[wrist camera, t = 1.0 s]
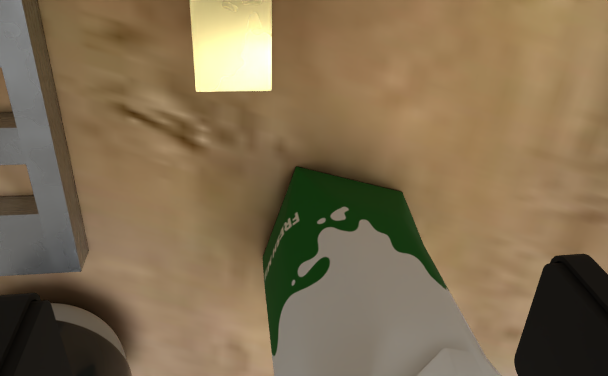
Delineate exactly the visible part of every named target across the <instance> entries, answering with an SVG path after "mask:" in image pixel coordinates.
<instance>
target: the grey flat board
mask: <svg viewBox="0 0 608 376" xmlns="http://www.w3.org/2000/svg"><path fill="white" fill-rule="evenodd" d="M0 67H2V71H3V75H4V79H5V83H6V87H7V90H8V94H9V98H10V102H11V106H12V110H13V113H0V165H16V164H26V165H27V169H28V173H29V177H30V181H31V185H32V189H33V193H34V196H10V197H0V276H8V275H26V274H44V273H62V272H81V271H82V268H83V265H84V262H85V260H86V257H87V254H88V251H89V250H88V245H87V240H86V235H85V230H84V226H83V221H82V216H81V211H80V206H79V201H78V197H77V192H76V187H75V182H74V177H73V172H72V168H71V163H70V158H69V153H68V148H67V143H66V138H65V134H64V129H63V124H62V119H61V114H60V109H59V105H58V100H57V95H56V90H55V85H54V80H53V76H52V71H51V66H50V61H49V56H48V51H47V46H46V42H45V37H44V32H43V27H42V22H41V17H40V13H39V8H38V3H37V0H0Z"/></svg>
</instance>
